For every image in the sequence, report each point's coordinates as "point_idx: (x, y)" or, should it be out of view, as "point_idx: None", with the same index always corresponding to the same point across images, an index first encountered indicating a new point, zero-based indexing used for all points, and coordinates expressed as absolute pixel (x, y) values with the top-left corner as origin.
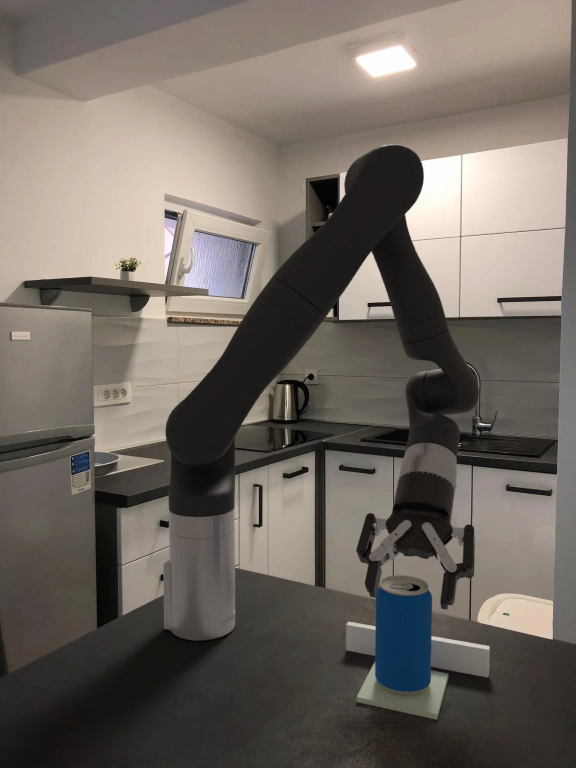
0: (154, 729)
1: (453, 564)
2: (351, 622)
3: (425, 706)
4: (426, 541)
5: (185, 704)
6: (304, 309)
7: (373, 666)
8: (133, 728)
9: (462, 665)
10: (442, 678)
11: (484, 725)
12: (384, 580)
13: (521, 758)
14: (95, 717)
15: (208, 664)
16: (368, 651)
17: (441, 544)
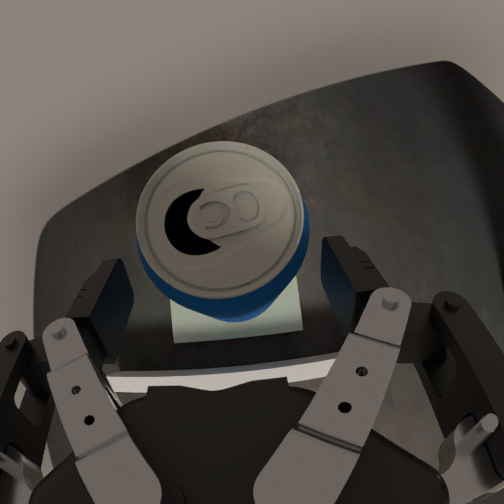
0: (424, 97)
1: (49, 340)
2: None
3: None
4: (147, 431)
5: (437, 133)
6: None
7: (297, 304)
8: (435, 95)
9: (156, 372)
10: (179, 323)
11: (112, 242)
12: (296, 229)
13: (77, 202)
14: (464, 101)
15: (477, 209)
16: (326, 354)
17: (60, 392)
